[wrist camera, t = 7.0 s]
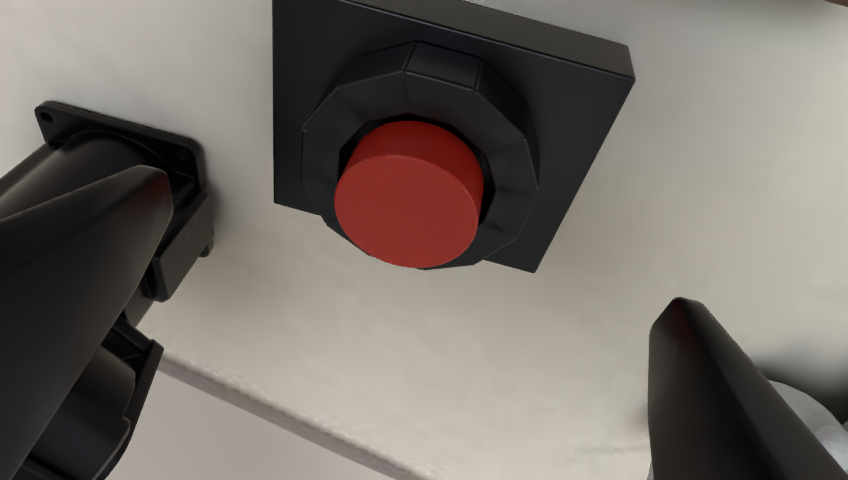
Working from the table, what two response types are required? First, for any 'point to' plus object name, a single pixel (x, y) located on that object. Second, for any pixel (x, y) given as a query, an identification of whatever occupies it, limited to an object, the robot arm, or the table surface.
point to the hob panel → (838, 2)
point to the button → (411, 194)
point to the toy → (813, 423)
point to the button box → (445, 106)
